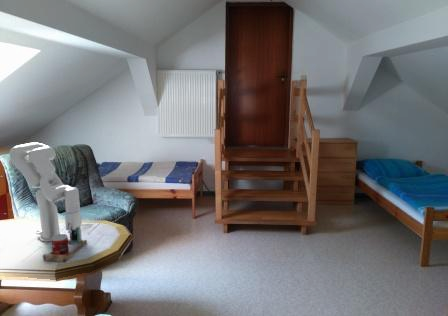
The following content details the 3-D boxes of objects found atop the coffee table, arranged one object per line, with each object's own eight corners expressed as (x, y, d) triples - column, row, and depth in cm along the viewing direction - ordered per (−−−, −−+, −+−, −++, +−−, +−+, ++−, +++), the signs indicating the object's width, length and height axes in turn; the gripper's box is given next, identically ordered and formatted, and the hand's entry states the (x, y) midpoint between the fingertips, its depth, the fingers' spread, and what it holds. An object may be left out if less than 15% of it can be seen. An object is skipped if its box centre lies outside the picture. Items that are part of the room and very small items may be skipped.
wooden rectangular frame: (43, 260, 184) (41, 244, 182) (67, 241, 206) (65, 227, 204) (65, 261, 182) (63, 245, 180) (86, 242, 204) (85, 228, 203)
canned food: (56, 252, 193) (54, 234, 190) (71, 252, 193) (69, 233, 191) (50, 259, 185) (48, 240, 183) (66, 259, 186) (64, 239, 183)
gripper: (73, 204, 208) (76, 233, 212) (58, 213, 193) (62, 244, 196) (86, 204, 207) (88, 233, 211) (71, 214, 192) (74, 245, 196)
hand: (75, 238), depth 204 cm, fingers closed on wooden rectangular frame, 2 cm apart
